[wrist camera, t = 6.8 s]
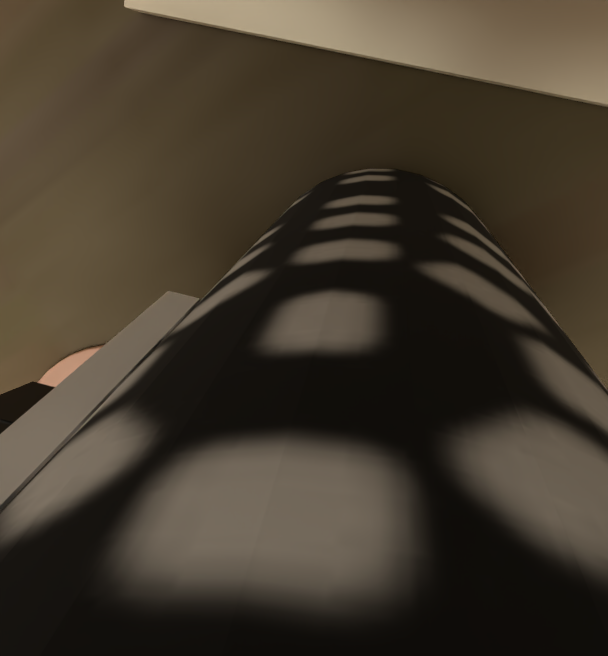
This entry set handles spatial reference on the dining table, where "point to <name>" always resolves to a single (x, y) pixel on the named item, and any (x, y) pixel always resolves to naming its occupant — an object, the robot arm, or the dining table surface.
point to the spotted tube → (332, 460)
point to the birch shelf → (434, 35)
